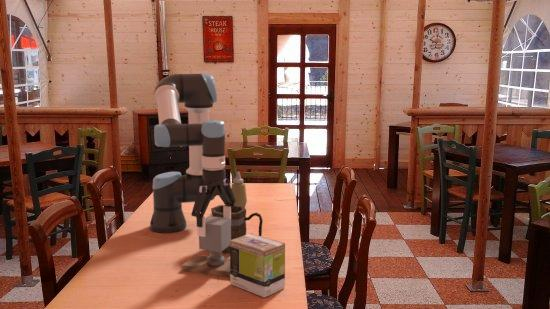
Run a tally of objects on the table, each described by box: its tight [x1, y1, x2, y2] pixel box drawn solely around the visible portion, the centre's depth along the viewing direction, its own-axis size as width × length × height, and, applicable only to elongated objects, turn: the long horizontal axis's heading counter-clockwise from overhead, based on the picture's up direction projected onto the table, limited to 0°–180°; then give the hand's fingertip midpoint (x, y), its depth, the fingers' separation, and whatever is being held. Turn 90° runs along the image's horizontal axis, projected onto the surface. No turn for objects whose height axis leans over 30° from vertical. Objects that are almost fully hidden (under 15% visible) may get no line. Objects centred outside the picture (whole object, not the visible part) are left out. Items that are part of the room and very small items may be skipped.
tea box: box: [229, 233, 286, 299], centre depth 154 cm, size 15×10×15 cm, turn 48°
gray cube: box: [198, 215, 231, 252], centre depth 166 cm, size 8×8×9 cm
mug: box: [210, 204, 264, 255], centre depth 187 cm, size 20×14×15 cm
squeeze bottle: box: [231, 171, 248, 208], centre depth 240 cm, size 8×8×18 cm
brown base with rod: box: [181, 250, 230, 279], centre depth 167 cm, size 20×10×16 cm, turn 72°
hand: (214, 230), depth 166 cm, fingers open, 13 cm apart
